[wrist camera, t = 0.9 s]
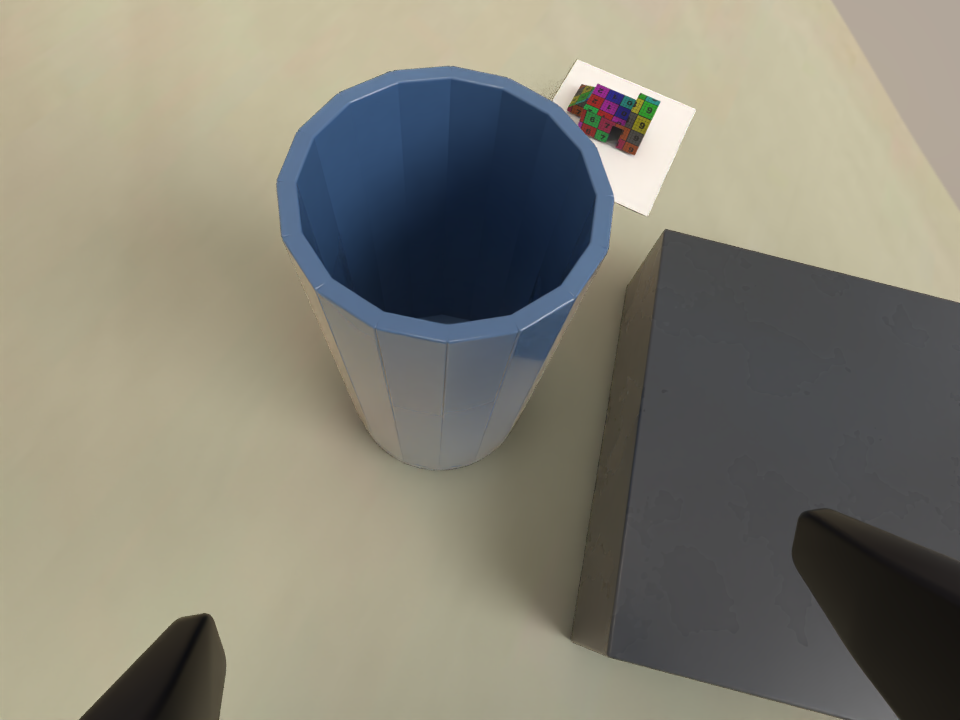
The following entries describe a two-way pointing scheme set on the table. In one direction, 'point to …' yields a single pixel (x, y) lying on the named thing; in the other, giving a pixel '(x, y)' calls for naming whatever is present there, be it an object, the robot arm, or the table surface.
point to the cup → (443, 250)
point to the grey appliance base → (761, 463)
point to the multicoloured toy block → (626, 130)
